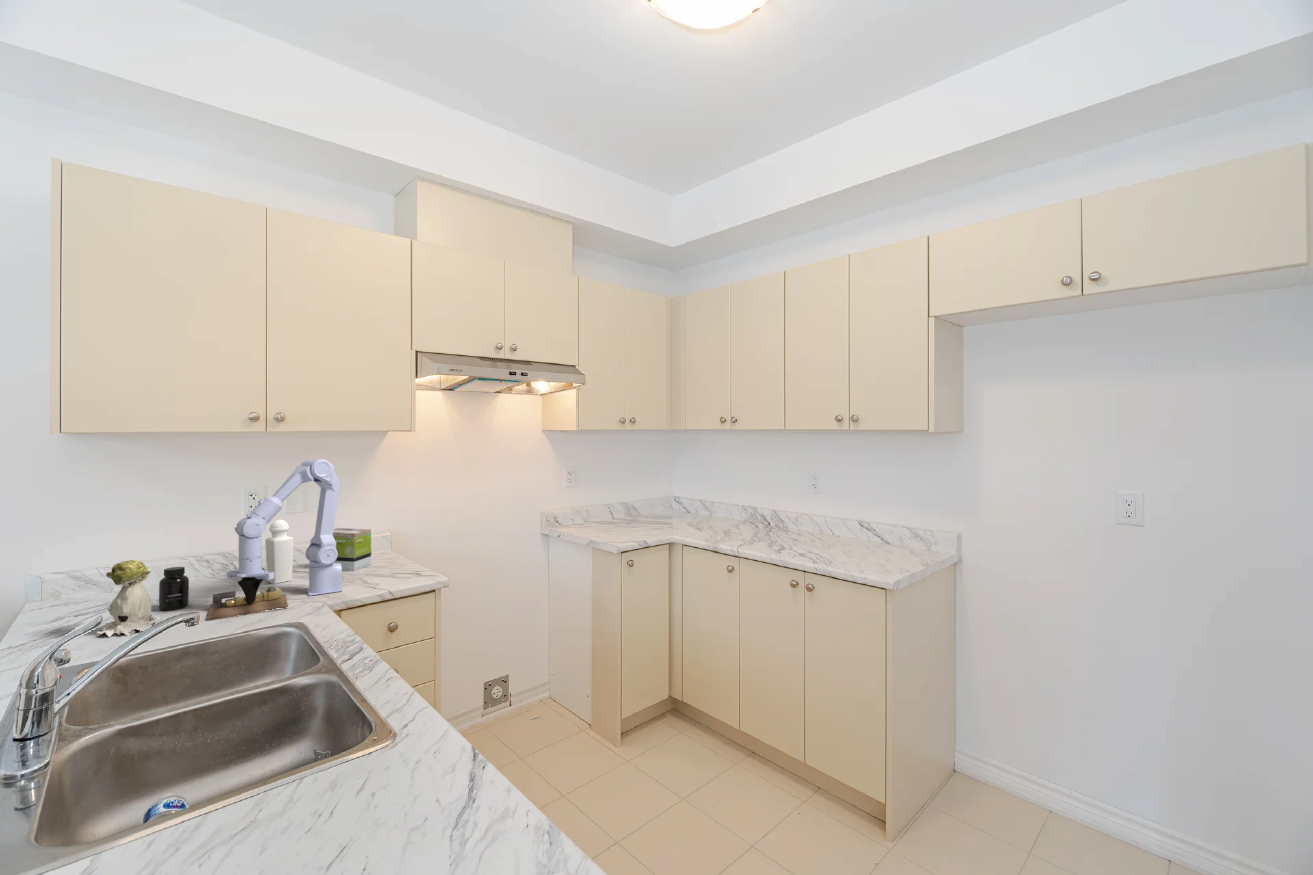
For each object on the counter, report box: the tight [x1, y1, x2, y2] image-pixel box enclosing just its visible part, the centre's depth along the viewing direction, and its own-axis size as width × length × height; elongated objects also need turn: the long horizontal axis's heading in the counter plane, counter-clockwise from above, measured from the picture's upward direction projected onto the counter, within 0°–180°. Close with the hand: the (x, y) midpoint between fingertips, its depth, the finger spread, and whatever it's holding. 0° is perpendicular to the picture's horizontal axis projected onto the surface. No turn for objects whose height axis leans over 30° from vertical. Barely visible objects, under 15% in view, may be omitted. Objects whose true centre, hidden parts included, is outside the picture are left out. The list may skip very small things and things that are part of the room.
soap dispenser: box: [265, 519, 294, 584], centre depth 200 cm, size 6×6×22 cm
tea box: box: [333, 527, 372, 572], centre depth 221 cm, size 15×10×15 cm, turn 81°
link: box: [224, 587, 282, 607], centre depth 173 cm, size 14×5×2 cm, turn 141°
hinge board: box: [206, 585, 289, 622], centre depth 170 cm, size 19×16×4 cm
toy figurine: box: [96, 559, 160, 638], centre depth 152 cm, size 12×13×18 cm
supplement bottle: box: [158, 566, 190, 612], centre depth 170 cm, size 7×7×12 cm
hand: (250, 602), depth 171 cm, fingers closed, pressing on link
